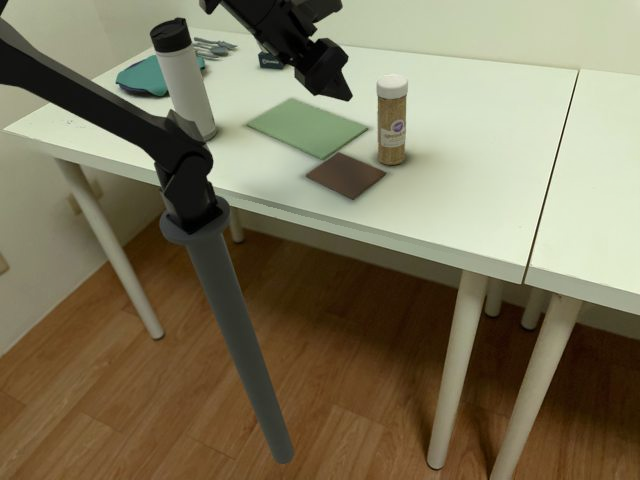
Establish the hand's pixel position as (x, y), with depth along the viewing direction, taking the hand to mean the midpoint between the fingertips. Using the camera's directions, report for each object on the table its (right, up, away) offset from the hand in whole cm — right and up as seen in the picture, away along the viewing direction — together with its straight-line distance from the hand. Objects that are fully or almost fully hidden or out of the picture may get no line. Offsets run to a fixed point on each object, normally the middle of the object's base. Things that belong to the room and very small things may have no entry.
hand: (335, 86), depth 68 cm
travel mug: (-25, -2, +21) cm, 33 cm away
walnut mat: (+2, -12, +7) cm, 14 cm away
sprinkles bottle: (+9, -9, +9) cm, 16 cm away
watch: (-13, +18, +41) cm, 47 cm away
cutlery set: (-36, +18, +45) cm, 60 cm away
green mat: (-5, -1, +19) cm, 20 cm away
